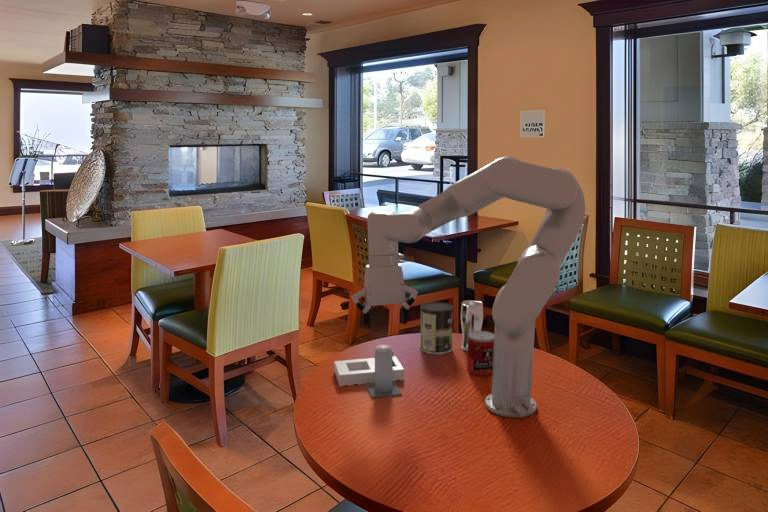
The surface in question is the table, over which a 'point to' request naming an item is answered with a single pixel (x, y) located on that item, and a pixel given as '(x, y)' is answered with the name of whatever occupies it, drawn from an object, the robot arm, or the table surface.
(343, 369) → the housing
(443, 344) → the coffee can
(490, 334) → the canned food
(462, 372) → the table surface
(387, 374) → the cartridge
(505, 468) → the table surface
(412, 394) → the table surface
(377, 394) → the mat
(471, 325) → the beer glass
